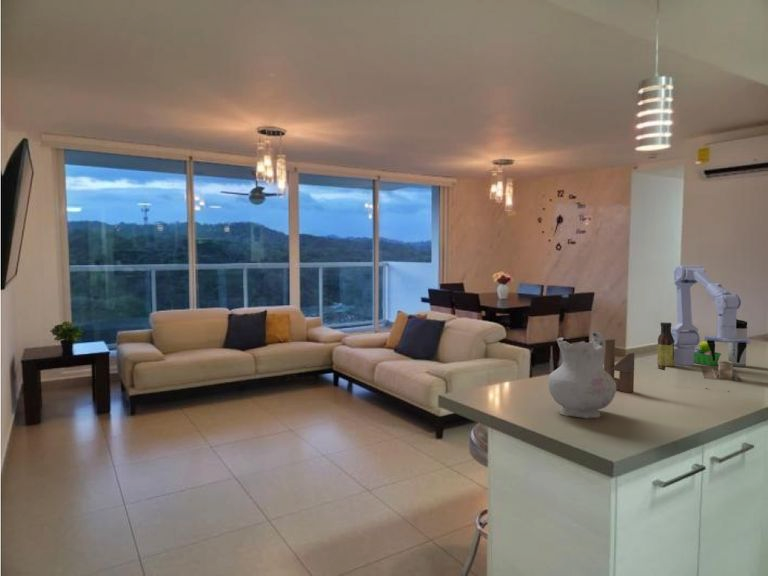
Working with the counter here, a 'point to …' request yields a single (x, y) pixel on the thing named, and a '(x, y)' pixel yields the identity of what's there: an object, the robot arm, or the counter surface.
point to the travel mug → (740, 333)
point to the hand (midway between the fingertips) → (725, 361)
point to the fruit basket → (705, 355)
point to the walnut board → (712, 373)
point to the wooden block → (619, 367)
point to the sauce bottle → (665, 347)
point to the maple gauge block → (725, 369)
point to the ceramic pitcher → (582, 379)
